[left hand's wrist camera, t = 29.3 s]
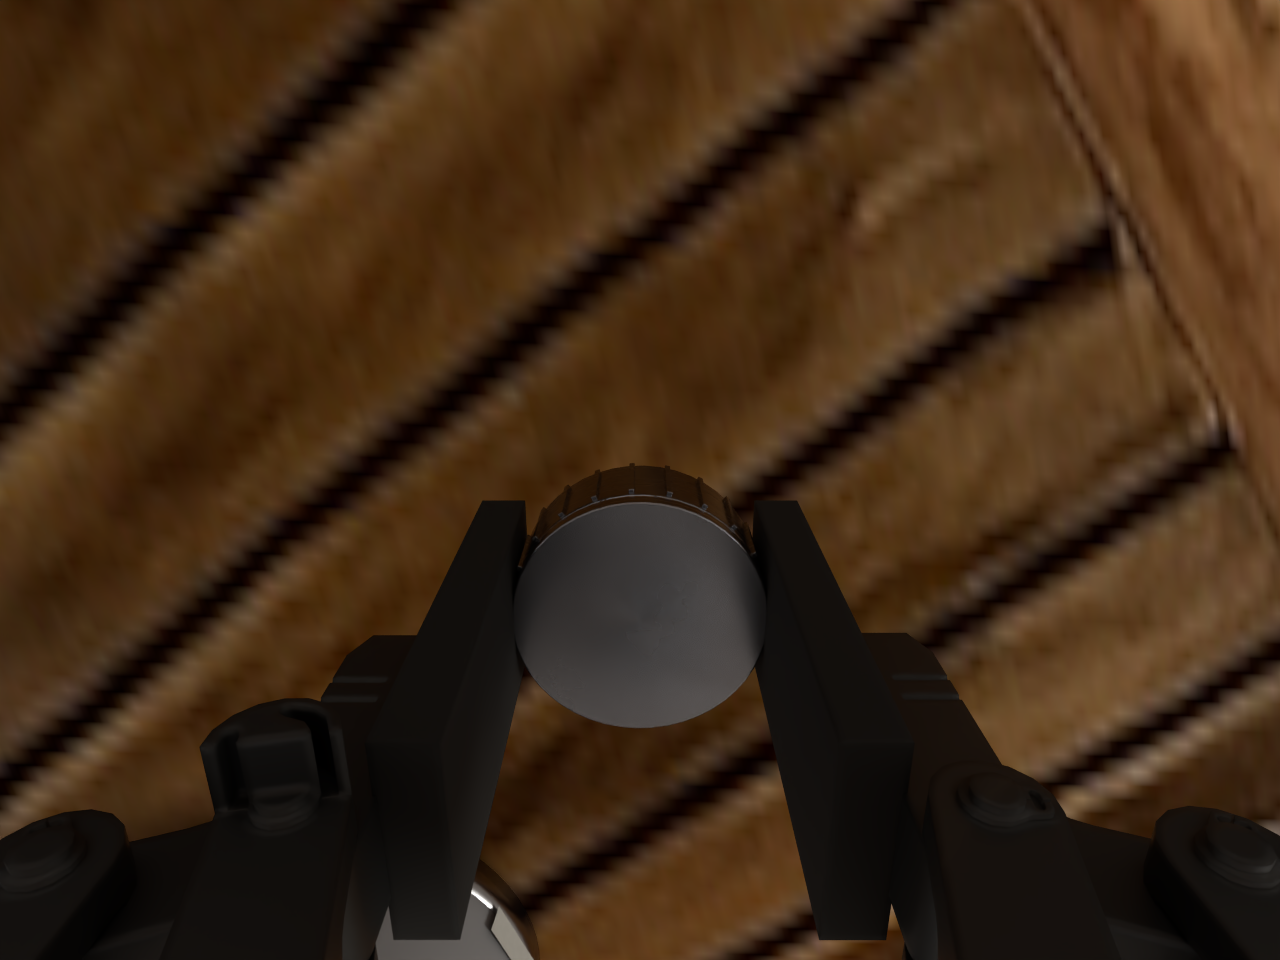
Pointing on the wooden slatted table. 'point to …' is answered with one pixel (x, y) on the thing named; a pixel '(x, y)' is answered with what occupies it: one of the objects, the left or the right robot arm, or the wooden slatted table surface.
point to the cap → (639, 598)
